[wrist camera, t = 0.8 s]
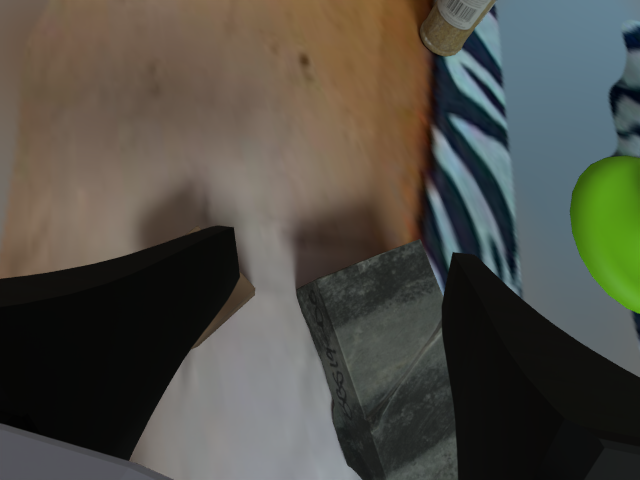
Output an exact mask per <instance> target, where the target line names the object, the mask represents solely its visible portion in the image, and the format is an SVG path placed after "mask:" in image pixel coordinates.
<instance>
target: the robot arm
mask: <svg viewBox="0 0 640 480" xmlns="http://www.w3.org/2000/svg"><path fill="white" fill-rule="evenodd" d="M239 278H240V272H239V264H238V256H237V249H236V241H235V233H234V227H226V226H213V227H209V228H206V229H202V230H199V231H196V232H193V233H191V234H188V235H185V236H182V237H179V238H177V239H174V240H171V241H168V242H165V243H163V244H160V245H157V246H154V247H150V248H147V249H144V250H141V251H138V252H135V253H132V254H129V255H126V256H122V257H118V258H115V259H111V260H107V261H103V262H99V263H95V264H90V265H86V266H81V267H75V268H70V269H65V270H60V271H54V272H49V273H42V274H35V275H28V276H20V277H12V278H3V279H0V480H173V479H171V478H169V477H166V476H164V475H162V474H160V473H157V472H155V471H153V470H151V469H148V468H146V467H144V466H142V465H139V464H137V463H133V462H130V461H129V459H130V457H131V455H132V452H133V450H134V448H135V446H136V444H137V442H138V440H139V439H140V437H141V435H142V433H143V431H144V429H145V427H146V425H147V423H148V421H149V419H150V417H151V415H152V413H153V411H154V410H155V408H156V406H157V404H158V403H159V401H160V399H161V397H162V395H163V394H164V392H165V390H166V388H167V386H168V385H169V383H170V381H171V380H172V378H173V376H174V375H175V373H176V371H177V370H178V368H179V366H180V365H181V363H182V361H183V360H184V358H185V357H186V355H187V354H188V353H189V351H190V350H191V348H192V347H193V346H194V344H195V343H196V342H197V340H198V339H199V338H200V336H201V335H202V334H203V332H204V331H205V330H206V329H207V327H208V326H209V325H210V323H211V322H212V321H213V319H214V318H215V317H216V315H217V314H218V313H219V311H220V310H221V309H222V307H223V306H224V305H225V303H226V302H227V300H228V299H229V297H230V295H231V294H232V292H233V290H234V288H235V286H236V284H237V282H238V280H239ZM441 309H442V337H443V343H444V350H445V356H446V362H447V368H448V374H449V380H450V386H451V392H452V398H453V405H454V414H455V428H456V445H457V466H458V480H640V377H638V376H636V375H634V374H632V373H631V372H629V371H627V370H625V369H623V368H622V367H620V366H618V365H616V364H615V363H613V362H611V361H610V360H608V359H606V358H605V357H603V356H601V355H600V354H598V353H596V352H595V351H593V350H591V349H590V348H588V347H586V346H585V345H583V344H582V343H580V342H579V341H577V340H575V339H574V338H573V337H571V336H569V335H568V334H567V333H565V332H564V331H563V330H561V329H560V328H558V327H557V326H555V325H554V324H553V323H551V322H550V321H549V320H547V319H546V318H545V317H543V316H542V315H541V314H539V313H538V312H537V311H536V310H535V309H533V308H532V307H531V306H530V305H528V304H527V303H526V302H525V301H524V300H522V299H521V298H520V297H519V296H518V295H517V294H515V293H514V292H513V291H512V290H511V289H510V288H509V287H508V286H507V285H506V284H505V283H504V282H502V281H501V280H500V279H499V278H498V277H497V276H496V275H495V274H494V273H493V272H492V271H491V270H490V269H489V268H488V267H487V266H486V265H485V264H484V263H483V262H482V261H481V260H480V259H479V258H478V257H477V256H475V255H472V254H464V253H455V252H453V254H452V258H451V263H450V268H449V273H448V278H447V282H446V287H445V292H444V297H443V302H442V306H441Z"/></svg>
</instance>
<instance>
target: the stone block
mask: <svg viewBox="0 0 640 480" xmlns="http://www.w3.org/2000/svg"><path fill="white" fill-rule="evenodd" d="M297 298H298V301H299V305H300V307H301V311H302V314H303V316H304V318H305V320H306V323H307V325H308V327H309V329H310V332H311V335H312V338H313V341H314V344H315V346H316V349H317V351H318V354H319V356H320V359H321V361H322V364H323V367H324V369H325V372H326V376H327V381H328V384H329V387H330V390H331V393H332V397H333V400H334V409H333V424H334V427H335V430H336V433H337V435H338V440H339V443H340V445H341V448H342V451H343V454H344V457H345V459H346V462H347V465H348V466H349V467H351V468H352V469H353V470H354V471H355V472H356V473H357V474H358V475H359V476H360V477H361V479H362V480H458V466H457V445H456V428H455V414H454V405H453V398H452V392H451V386H450V380H449V374H448V368H447V362H446V356H445V350H444V343H443V337H442V309H441V306H442V302H443V295H442V293H441V290H440V288H439V285H438V283H437V280H436V278H435V275H434V273H433V270H432V268H431V265H430V263H429V260H428V258H427V255H426V253H425V250H424V248H423V245H422V243H421V241H420V239H419V240H417V241H414V242H411V243H408V244H406V245H403V246H400V247H398V248H395V249H392V250H390V251H387V252H385V253H382V254H379V255H377V256H374V257H371V258H369V259H366V260H364V261H361V262H358V263H356V264H353V265H351V266H349V267H347V268H344V269H342V270H339V271H337V272H335V273H332V274H329V275H326V276H323V277H320V278H318V279H316V280H314V281H313V282H311V283H308V284H307V285H305V286H302V287H301V288H299V289H297Z"/></svg>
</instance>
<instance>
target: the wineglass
mask: <svg viewBox="0 0 640 480" xmlns="http://www.w3.org/2000/svg"><path fill="white" fill-rule="evenodd" d="M570 216H571V225H572V233H573V236H574V239H575V242H576V245H577V248H578V251H579V254H580V256H581V258H582V260H583V261H584V263H585V265H586V267H587V268H588V270H589V272H590V273H591V275H592V277H593V278H594V279H595V280H596V281H597V282H598V284H599V285H600V286H601V287H602V288H603V289H604V290H605V291H606V292H607V293H608V295H609V296H611V297H612V298H614V299H615V300H616V301H618V302H619V303H621V304H622V305H623V306H625V307H626V308H627V309H630V310H632V311H634V312H637V313H639V314H640V158H636V157H631V156H617V157H607V158H604V159H602V160H600V161H597V162H595V163H593V164H591V165H590V166H589V167H588V168H587V169H586V170H585V171H584V172H583V173H582V174H581V175H580V177H579V179H578V181H577V184H576V185H575V188H574V190H573V193H572V200H571V207H570Z"/></svg>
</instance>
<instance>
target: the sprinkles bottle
mask: <svg viewBox="0 0 640 480" xmlns="http://www.w3.org/2000/svg"><path fill="white" fill-rule="evenodd" d="M496 1H497V0H437V1H436V3H435V5H434V7H433V8H432V10H431V12H430V14H429V15H428V17H427V19H426V20H425V21H424V22H423V23H422V25H421V28H420V35H421V39H422V41H423V43H424V45H425V46H426V47H427V48H428V49H429V50H431V51H432V52H434V53H436V54H438V55H441V56H452V55H455V54H456V53H458V52H459V51H460V50H461V48H462V46H463V44H464V42H465V41H466V39H467V38H468V37H469V35H470V34H471V33H472V32H473V30H474V29H475V27H476V26H477V25H478V24H479V23H480V22H481V21H482V20H483V18H484V17H485V16H486V14H487V13H488V12H489V10H490V9H491V8H492V6H493V5H494V4H495V2H496Z"/></svg>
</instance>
